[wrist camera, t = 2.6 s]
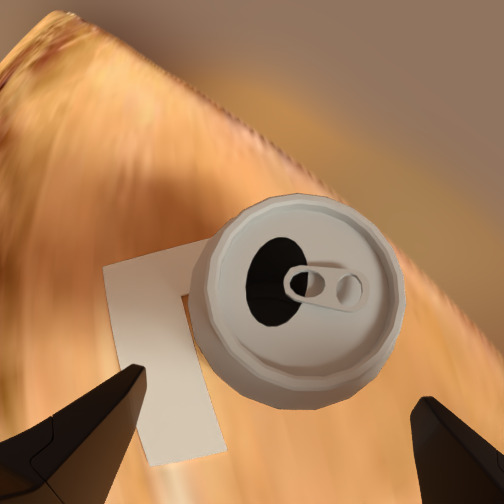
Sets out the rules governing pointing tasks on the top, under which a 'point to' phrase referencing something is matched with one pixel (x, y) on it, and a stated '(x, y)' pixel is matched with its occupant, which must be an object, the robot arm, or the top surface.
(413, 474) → the top surface
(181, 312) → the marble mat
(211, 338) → the can
